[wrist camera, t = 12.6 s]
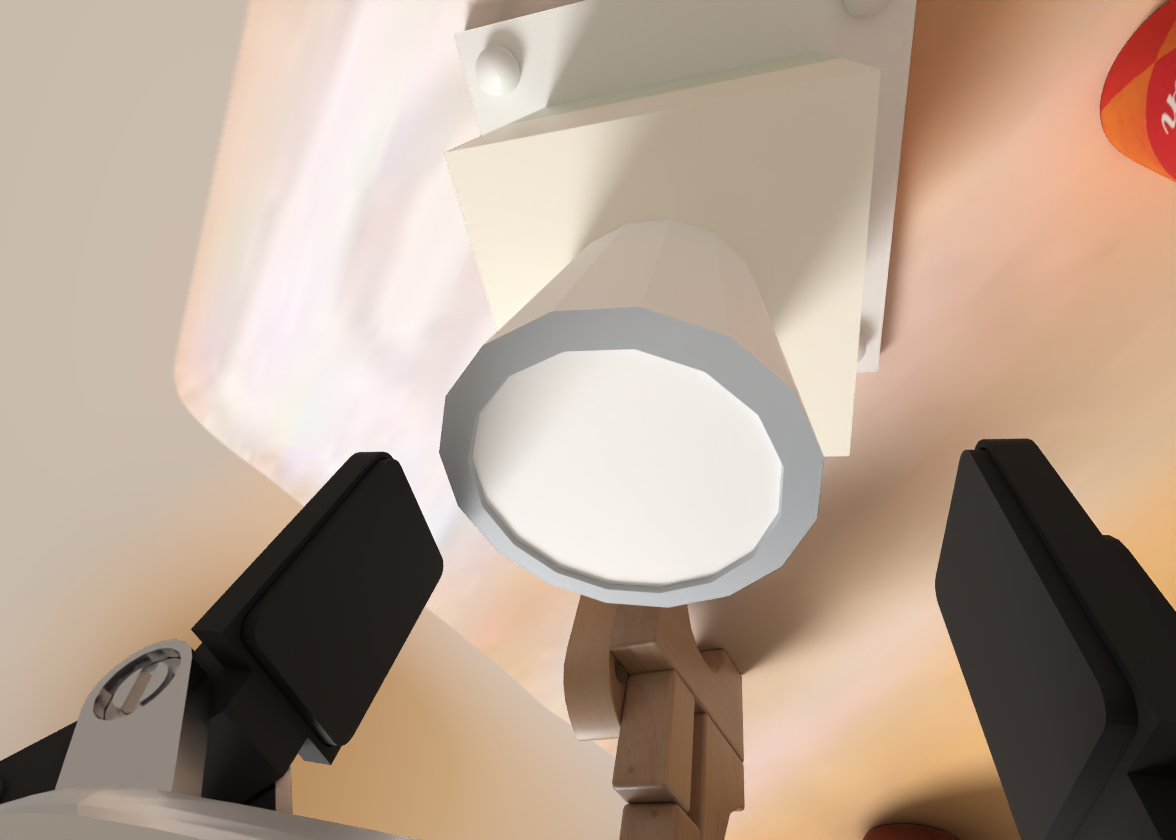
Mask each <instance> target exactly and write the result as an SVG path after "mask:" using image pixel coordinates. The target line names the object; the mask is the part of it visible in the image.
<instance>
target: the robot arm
mask: <svg viewBox="0 0 1176 840" xmlns="http://www.w3.org/2000/svg"><path fill="white" fill-rule="evenodd" d="M442 572H443V559H442V556H441V554H440V552H439V550H438V547H437V545H436V543H435V541H434V538H433V536H432V534H431V532H430V530H429V527H428V525H427V523H426V521H425V518H424V516H423V514H422V512H421V510H420V507H419V505H418V503H417V501H416V498H415V496H414V494H413V492H412V490H411V487H410V485H409V483H408V481H407V478H406V476H405V474H404V472H403V470H402V467H401V465H400V464H399V462H398V461H397V460H394V459H393V458H392V456H391V455H390V454H388V453H386V452H359V453H355V454H354V455H352V456H351V457H350V458H349V459H348V460H347V461H346V462H345V463H344V464H343V466H342V467H341V468H340V469H339V470H338V471H337V472H336V473H335V474H334V475H333V476H332V477H331V479H330V480H329V481H328V482H327V483H326V484H325V485H324V486H323V487H322V488H321V489H320V490H319V491H318V493H317V494H316V495H315V496H314V497H313V498H312V499H311V500H310V501H309V502H308V503H307V504H306V506H305V507H304V508H303V509H302V510H301V511H300V512H299V513H298V514H297V515H296V516H295V517H294V518H293V520H292V521H291V522H290V523H289V524H288V525H287V526H286V527H285V528H284V529H283V530H282V531H281V533H280V534H279V535H278V536H277V537H276V538H275V539H274V540H273V541H272V542H271V543H270V544H269V545H268V547H267V548H266V549H265V550H264V551H263V552H262V553H261V554H260V555H259V556H258V557H257V558H256V560H255V561H254V562H253V563H252V564H251V565H250V566H249V567H248V568H247V569H246V570H245V572H243V574H242V575H241V576H240V577H239V578H238V579H237V580H236V581H235V582H234V583H233V584H232V585H231V587H230V588H229V589H228V590H227V591H226V592H225V593H224V594H223V595H222V596H221V597H220V598H219V600H218V601H217V602H216V603H215V604H214V605H213V606H212V607H211V608H210V609H209V610H208V611H207V613H206V614H205V615H204V616H203V617H202V618H201V619H200V620H199V621H198V622H197V623H196V624H195V626H194V627H193V628H192V629H191V630H192V631H193V632H194V633H195V634H196V636H197V637H198V638H199V639H200V640H201V641H202V644H201V645H200V646H199V647H198V648H197V649H196V650H195V651H194V650H193V649H192V648H191V647H190V646H189V645H188V643H187V642H185V641H181V640H177V639H174V640H166V641H161V642H158V643H156V644H152V645H150V646H147V647H146V648H144V649H142V650H140V651H138V652H136V653H134V654H132V655H131V656H129V657H128V658H126V659H125V660H123V661H122V662H121V663H119V664H118V665H117V666H115V667H114V668H113V669H112V670H111V671H110V672H109V673H108V674H106V676H104V677H103V678H102V679H101V680H100V681H99V682H98V684H97V685H96V686H95V688H94V689H93V690H92V691H91V692H90V694H89V695H88V697H87V699H86V701H85V703H84V705H83V707H82V709H81V713H80V715H79V718H78V721H76V722H74V723H72V724H70V725H68V726H67V727H64V728H63V729H61V730H59V731H57V732H55V733H53V734H51V735H49V736H47V737H45V738H44V739H42V740H40V741H38V742H36V743H34V744H32V745H30V746H28V747H26V748H24V749H23V750H21V751H19V752H17V753H15V754H13V755H11V756H9V757H7V758H5V759H3V760H1V761H0V840H419V839H414V838H409V837H404V836H399V835H394V834H389V833H384V832H379V831H374V830H369V829H364V828H359V827H354V826H349V825H344V824H339V823H334V822H329V821H323V820H318V819H313V818H308V817H303V816H298V815H293V812H292V779H291V763H292V762H293V760H294V758H295V757H296V755H297V754H299V755H300V756H301V757H302V758H303V760H304V761H310V762H316V763H322V764H328V765H331V764H332V762H333V760H334V759H335V757H336V755H337V753H338V751H339V750H340V748H341V746H343V745H345V744H347V743H348V742H349V741H350V740H351V738H352V737H353V735H354V733H355V732H356V730H357V728H358V726H359V724H360V723H361V721H362V719H363V717H364V715H365V713H366V712H367V710H368V708H369V706H370V704H371V703H372V701H373V699H374V697H375V695H376V694H377V692H378V690H379V688H380V686H381V684H382V683H383V681H384V679H385V677H386V676H387V674H388V672H389V670H390V668H391V666H392V665H393V663H394V661H395V659H396V657H397V656H398V654H399V652H400V650H401V648H402V646H403V645H404V643H405V641H406V639H407V638H408V636H409V634H410V632H411V630H412V628H413V627H414V625H415V623H416V621H417V619H418V618H419V615H420V614H421V612H422V610H423V608H424V607H425V605H426V603H427V601H428V599H429V598H430V596H431V594H432V592H433V590H434V589H435V587H436V585H437V583H438V581H439V580H440V578H441V575H442ZM935 590H936V597H937V601H938V604H939V607H940V610H941V613H942V616H943V619H944V621H945V624H946V627H947V630H948V633H949V636H950V638H951V641H952V644H953V647H954V650H955V653H956V655H957V658H958V661H959V664H960V667H961V670H962V672H963V675H964V678H965V681H966V684H967V687H968V689H969V692H970V695H971V698H972V701H973V704H974V706H975V709H976V712H977V715H978V718H979V721H980V723H981V726H982V729H983V732H984V735H985V738H986V740H987V743H988V746H989V749H990V752H991V755H992V757H993V760H994V763H995V766H996V769H997V772H998V774H999V777H1000V780H1001V783H1002V786H1003V789H1004V792H1005V794H1006V797H1007V800H1008V803H1009V806H1010V809H1011V811H1012V814H1013V817H1014V820H1015V823H1016V826H1017V828H1018V831H1019V834H1020V836H1021V839H1022V840H1176V612H1175V610H1174V609H1173V608H1172V606H1171V605H1170V604H1169V602H1168V601H1167V600H1166V598H1165V597H1164V596H1163V594H1162V593H1161V592H1160V591H1159V589H1158V588H1157V587H1156V585H1155V584H1154V583H1153V581H1152V580H1151V579H1150V577H1149V576H1148V575H1147V573H1146V572H1145V571H1144V569H1143V568H1142V567H1141V566H1140V564H1139V563H1138V562H1137V560H1136V559H1135V558H1134V556H1133V555H1132V554H1131V552H1130V551H1129V550H1128V549H1127V548H1126V547H1125V546H1124V545H1123V544H1122V543H1121V542H1120V541H1119V540H1118V539H1116V538H1114V537H1112V536H1110V535H1102V534H1101V532H1100V531H1099V530H1098V528H1097V527H1096V526H1095V524H1094V523H1093V521H1092V520H1091V519H1090V517H1089V516H1088V515H1087V513H1086V512H1085V511H1084V509H1083V508H1082V506H1081V505H1080V504H1079V502H1078V501H1077V500H1076V498H1075V497H1074V496H1073V494H1072V493H1071V491H1070V490H1069V489H1068V487H1067V486H1066V485H1065V483H1064V482H1063V480H1062V479H1061V478H1060V476H1059V475H1058V474H1057V472H1056V471H1055V470H1054V468H1053V467H1052V465H1051V464H1050V463H1049V461H1048V460H1047V459H1046V457H1045V456H1044V454H1043V453H1042V452H1041V450H1040V449H1039V448H1038V446H1037V445H1036V444H1035V443H1034V442H1033V441H1032V440H1030V439H983V440H980V441H979V442H978V443H977V445H976V447H975V450H965V451H963V453H962V454H961V457H960V461H959V466H958V471H957V476H956V481H955V486H954V490H953V495H952V500H951V505H950V510H949V515H948V520H947V524H946V529H945V534H944V539H943V544H942V549H941V553H940V558H939V563H938V568H937V573H936V579H935Z"/></svg>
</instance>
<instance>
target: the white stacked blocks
mask: <svg viewBox="0 0 1176 840" xmlns="http://www.w3.org/2000/svg"><path fill="white" fill-rule="evenodd" d="M916 2H917V0H584V1H581V2H577V3H573V4H569V5H565V6H561V7H557V8H553V9H549V10H545V11H541V12H537V13H533V14H529V15H525V16H521V17H517V18H513V19H510V20H506V21H502V22H498V23H494V24H490V25H486V26H482V27H478V28H474V29H470V30H466V31H462V32H458V33H454V37H455V40H456V44H457V48H458V52H459V56H460V59H461V63H462V67H463V71H464V75H465V78H466V82H467V86H468V90H469V94H470V97H471V101H472V105H473V109H474V113H475V116H476V120H477V124H478V128H479V132H480V135H481V136H480V137H478V138H475V139H473V140H471V141H469V142H466V143H464V144H462V145H460V146H458V147H455V148H453V149H451V150H449V151H446V152H444V156H445V159H446V163H447V166H448V169H449V173H450V176H451V179H452V183H453V186H454V189H455V193H456V196H457V199H458V203H459V206H460V209H461V213H462V216H463V219H464V223H465V226H466V229H467V233H468V236H469V239H470V243H471V246H472V249H473V253H474V256H475V259H476V263H477V266H478V269H479V273H480V276H481V279H482V283H483V286H484V289H485V293H486V296H487V299H488V303H489V306H490V309H491V313H492V316H493V319H494V323H495V326H496V330H497V332H498V331H499V330H500V329H501V328H502V327H503V326H504V325H505V324H506V323H507V322H508V321H509V320H510V319H511V318H512V317H513V316H514V315H515V314H516V313H517V312H519V311H520V310H521V309H522V308H523V307H524V306H525V305H526V304H527V303H528V302H529V301H530V300H531V299H532V298H533V297H534V296H535V295H536V294H537V293H539V292H540V291H541V290H542V289H543V288H544V287H545V286H546V285H547V284H548V283H549V282H550V281H551V280H552V279H553V278H554V277H555V276H556V275H557V274H559V273H560V272H561V271H562V270H563V269H564V268H565V267H566V266H567V265H568V264H569V263H570V262H571V261H572V260H573V259H574V258H575V257H576V256H577V255H578V254H580V253H581V252H582V251H583V250H584V249H585V248H586V247H587V246H588V245H589V244H590V243H591V242H593V241H595V240H597V239H599V238H600V237H602V236H604V235H606V234H608V233H610V232H612V231H613V230H615V229H617V228H619V227H621V226H623V225H625V224H626V223H632V222H643V221H654V220H665V219H673V220H676V221H679V222H682V223H685V224H688V225H691V226H695V227H698V228H701V229H704V230H707V231H710V232H713V233H714V234H715V235H717V236H718V237H719V238H720V239H721V240H722V241H723V242H724V243H726V244H727V245H728V246H729V247H730V248H731V249H732V250H733V251H735V252H736V253H737V254H738V255H739V256H740V257H741V258H742V259H744V260H745V261H746V264H747V266H748V268H749V271H750V273H751V275H752V278H753V280H754V282H755V284H756V287H757V289H758V291H759V294H760V296H761V298H762V301H763V303H764V306H765V308H766V311H767V313H768V316H769V318H770V321H771V324H772V326H773V329H774V331H775V334H776V336H777V339H778V341H779V344H780V346H781V349H782V351H783V354H784V357H785V359H786V362H787V364H788V367H789V369H790V372H791V374H792V377H793V379H794V382H795V384H796V387H797V390H798V392H799V395H800V397H801V400H802V402H803V405H804V407H805V410H806V412H807V415H808V417H809V420H810V423H811V425H812V428H813V430H814V433H815V435H816V438H817V440H818V443H819V445H820V448H821V450H822V453H823V455H824V457H825V456H850V444H851V431H852V419H853V407H854V395H855V382H856V373H860V372H877V371H878V364H879V354H880V345H881V335H882V326H883V316H884V307H885V297H886V288H887V278H888V269H889V259H890V250H891V240H892V231H893V221H894V212H895V202H896V193H897V183H898V173H899V164H900V154H901V145H902V135H903V126H904V116H905V107H906V97H907V88H908V78H909V69H910V59H911V50H912V40H913V31H914V21H915V12H916Z"/></svg>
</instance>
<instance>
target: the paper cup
mask: <svg viewBox="0 0 1176 840" xmlns="http://www.w3.org/2000/svg"><path fill="white" fill-rule="evenodd" d="M1100 119H1101V124H1102V128H1103V131H1104V133H1105V135H1106V137H1107V138H1108V140H1109V141H1110V143H1111V144H1112V145H1113V146H1114V147H1115V148H1116V149H1117V150H1118V151H1119V152H1121V153H1122V154H1123V155H1125V156H1127V157H1128V158H1130V159H1132V160H1133V161H1135V162H1137V163H1139V164H1141V165H1143V166H1144V167H1146V168H1148V169H1150V170H1152V171H1154V172H1156V173H1158V174H1160V175H1162V176H1164V177H1166V178H1168V179H1170V180H1172V181H1175V182H1176V0H1170V1H1169V2H1167V3H1166V4H1165V5H1163V6H1162V7H1161V8H1160V9H1158V10H1157V11H1156V12H1155V13H1154V14H1153V15H1152V16H1150V17H1149V18H1148V19H1147V20H1146V21H1145V22H1144V23H1143V24H1142V25H1141V26H1140V27H1139V28H1138V30H1137V31H1136V32H1135V33H1134V34H1133V35H1132V37H1131V38H1130V39H1129V40H1128V42H1127V43H1126V44H1125V46H1124V47H1123V48H1122V50H1121V51H1120V53H1119V55H1118V56H1117V58H1116V60H1115V61H1114V63H1113V65H1112V67H1111V69H1110V71H1109V73H1108V76H1107V78H1106V81H1105V84H1104V87H1103V91H1102V95H1101V101H1100Z"/></svg>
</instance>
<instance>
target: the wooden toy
mask: <svg viewBox="0 0 1176 840" xmlns="http://www.w3.org/2000/svg"><path fill="white" fill-rule="evenodd" d="M564 693H565V701H566V705H567V710H568V714H569V718H570V721H571V724H572V727H573V730H574V732H575V734H576V736H577V738H578V740H579V741H585V740H601V739H613V738H619V740H618V747H617V753H616V760H615V767H614V774H613V780H612V783H613V788H614V790H615V791H616V792H617V793H618V794H619V795H620V796H621V797H622V798H623V799H624V800H625V801H626V802H627V803H628V804H627V805H625V806H624V809H623V816H622V823H621V831H620V839H619V840H724V837H725V833H726V829H727V825H728V820H729V816H730V813H732V812H733V811H742V810H744V768H743V761H744V751H743V710H742V677H741V675H740V673H739V672H738V670H737V669H736V667H735V665H734V664H733V662H732V661H731V659H730V658H729V656H728V654H727V653H726V651H725V650H724V649H717V650H710V651H703V652H699V650H698V648H697V646H696V642H695V639H694V636H693V633H692V630H691V625H690V619H689V613H688V608H687V604H684V605H679V606H674V607H669V608H667V607H654V606H641V605H628V604H615V603H605V602H602V601H599V600H596V599H593V598H590V597H587V596H584V595H581V597H580V601H579V604H578V608H577V612H576V616H575V620H574V624H573V628H572V632H571V635H570V639H569V643H568V647H567V652H566V657H565V663H564Z"/></svg>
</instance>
